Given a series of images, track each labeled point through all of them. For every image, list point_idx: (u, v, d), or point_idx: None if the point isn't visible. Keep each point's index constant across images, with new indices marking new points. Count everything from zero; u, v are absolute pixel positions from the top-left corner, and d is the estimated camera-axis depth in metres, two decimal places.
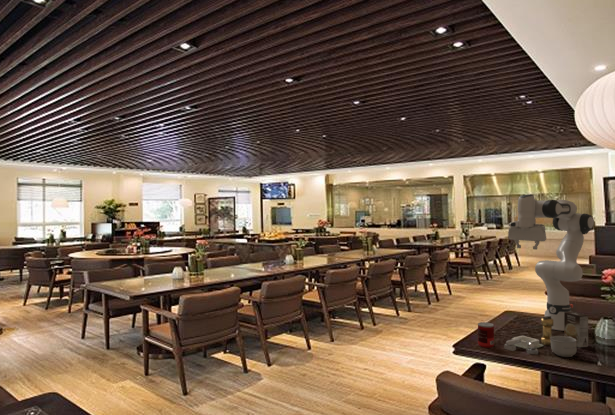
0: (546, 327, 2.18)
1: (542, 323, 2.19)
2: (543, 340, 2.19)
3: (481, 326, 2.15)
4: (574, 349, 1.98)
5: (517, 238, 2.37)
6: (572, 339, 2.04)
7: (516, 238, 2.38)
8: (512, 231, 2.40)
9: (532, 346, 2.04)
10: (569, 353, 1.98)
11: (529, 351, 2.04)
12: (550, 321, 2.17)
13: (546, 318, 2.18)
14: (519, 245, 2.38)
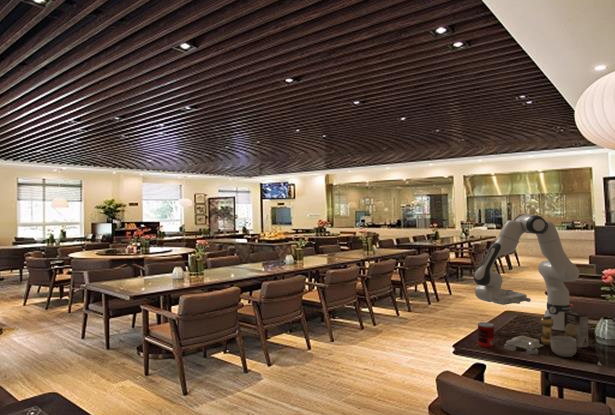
0: (546, 327, 2.18)
1: (542, 323, 2.19)
2: (543, 340, 2.19)
3: (481, 326, 2.15)
4: (574, 349, 1.98)
5: (519, 301, 2.37)
6: (572, 339, 2.04)
7: (520, 301, 2.37)
8: None
9: (532, 346, 2.04)
10: (569, 353, 1.98)
11: (529, 351, 2.04)
12: (550, 321, 2.17)
13: (546, 318, 2.18)
14: (526, 300, 2.33)
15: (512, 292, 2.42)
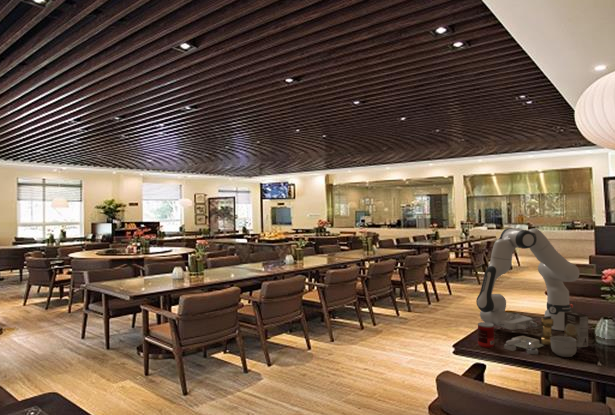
0: (546, 327, 2.18)
1: (542, 323, 2.19)
2: (543, 340, 2.19)
3: (481, 326, 2.15)
4: (574, 349, 1.98)
5: (526, 326, 2.34)
6: (572, 339, 2.04)
7: (526, 326, 2.34)
8: None
9: (532, 346, 2.04)
10: (569, 353, 1.98)
11: (529, 351, 2.04)
12: (550, 321, 2.17)
13: (546, 318, 2.18)
14: (532, 325, 2.30)
15: (518, 316, 2.39)
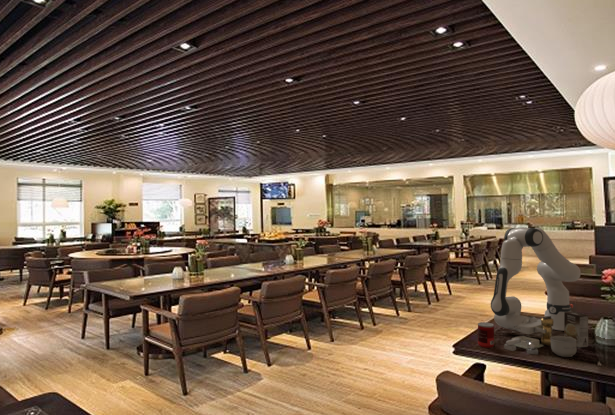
0: (546, 327, 2.18)
1: (542, 323, 2.19)
2: (543, 340, 2.19)
3: (481, 326, 2.15)
4: (574, 349, 1.98)
5: None
6: (572, 339, 2.04)
7: None
8: None
9: (532, 346, 2.04)
10: (569, 353, 1.98)
11: (529, 351, 2.04)
12: (550, 321, 2.17)
13: (546, 318, 2.18)
14: None
15: (534, 319, 2.31)
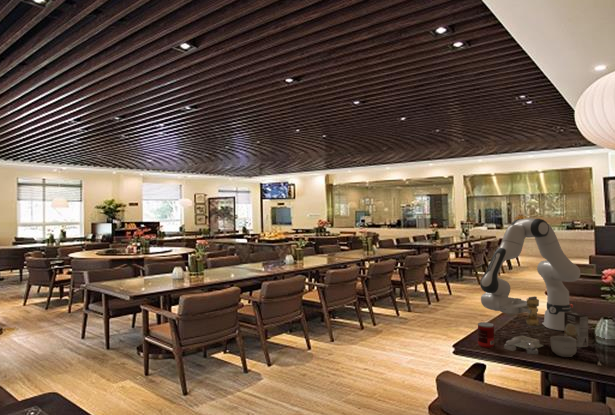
0: (532, 307, 2.17)
1: (527, 303, 2.18)
2: (528, 320, 2.18)
3: (481, 326, 2.15)
4: (574, 349, 1.98)
5: None
6: (572, 339, 2.04)
7: None
8: None
9: (532, 346, 2.04)
10: (569, 353, 1.98)
11: (529, 351, 2.04)
12: (535, 301, 2.16)
13: (531, 298, 2.17)
14: None
15: (520, 301, 2.30)
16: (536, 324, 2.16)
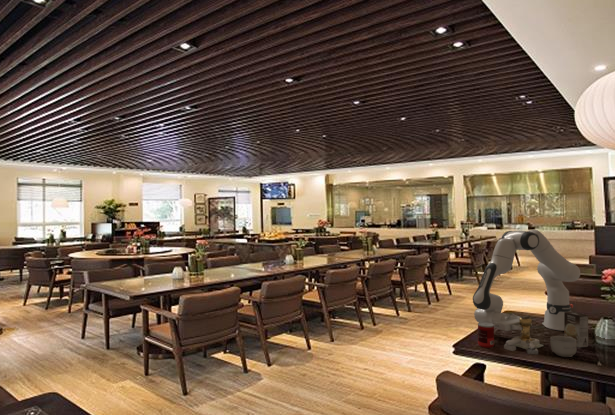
0: (525, 327, 2.17)
1: (520, 323, 2.18)
2: None
3: (481, 326, 2.15)
4: (574, 349, 1.98)
5: None
6: (572, 339, 2.04)
7: None
8: None
9: (532, 346, 2.04)
10: (569, 353, 1.98)
11: (529, 351, 2.04)
12: (528, 321, 2.16)
13: (524, 318, 2.17)
14: None
15: (513, 316, 2.30)
16: None
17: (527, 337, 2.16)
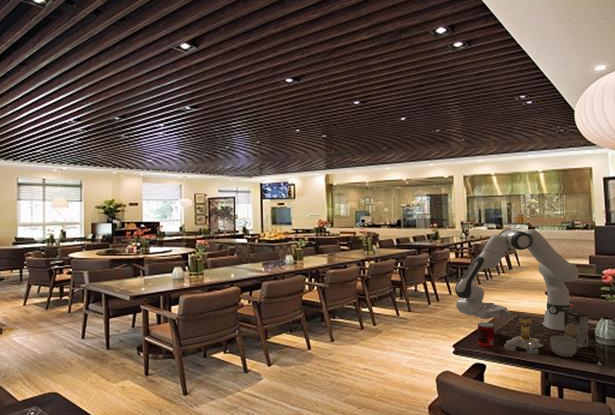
0: (524, 327, 2.17)
1: (520, 323, 2.18)
2: None
3: (481, 326, 2.15)
4: (574, 349, 1.98)
5: (500, 315, 2.36)
6: (572, 339, 2.04)
7: None
8: None
9: (532, 346, 2.04)
10: (569, 353, 1.98)
11: (529, 351, 2.04)
12: (528, 321, 2.16)
13: (524, 318, 2.17)
14: (506, 314, 2.32)
15: (493, 305, 2.41)
16: None
17: (527, 337, 2.16)
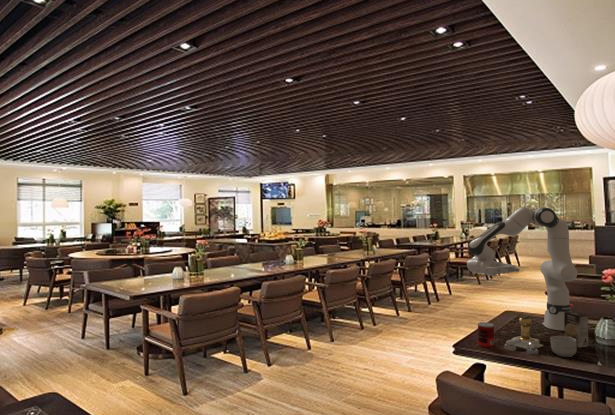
0: (524, 327, 2.17)
1: (520, 323, 2.18)
2: None
3: (481, 326, 2.15)
4: (574, 349, 1.98)
5: None
6: (572, 339, 2.04)
7: None
8: None
9: (532, 346, 2.04)
10: (569, 353, 1.98)
11: (529, 351, 2.04)
12: (528, 321, 2.16)
13: (524, 318, 2.17)
14: (515, 270, 2.43)
15: (502, 264, 2.52)
16: None
17: (527, 337, 2.16)
